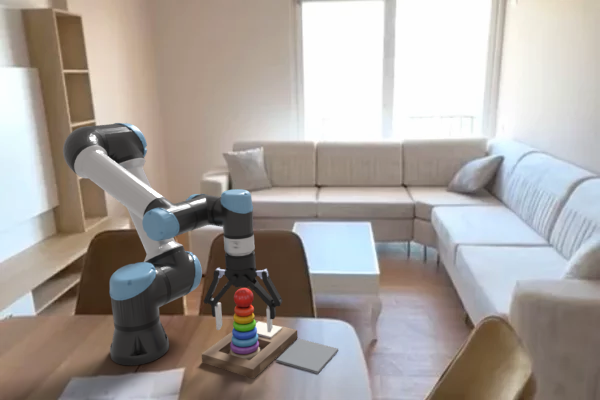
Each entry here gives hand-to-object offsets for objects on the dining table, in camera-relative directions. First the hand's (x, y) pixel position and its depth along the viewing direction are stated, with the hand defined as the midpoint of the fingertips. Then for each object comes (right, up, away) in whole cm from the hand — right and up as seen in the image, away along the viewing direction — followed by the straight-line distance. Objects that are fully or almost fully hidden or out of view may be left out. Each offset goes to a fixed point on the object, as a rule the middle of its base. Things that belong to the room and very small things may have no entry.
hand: (244, 328), depth 129 cm
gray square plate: (+16, -7, +1) cm, 18 cm away
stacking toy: (0, -8, +2) cm, 8 cm away
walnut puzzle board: (+1, -7, +4) cm, 8 cm away
